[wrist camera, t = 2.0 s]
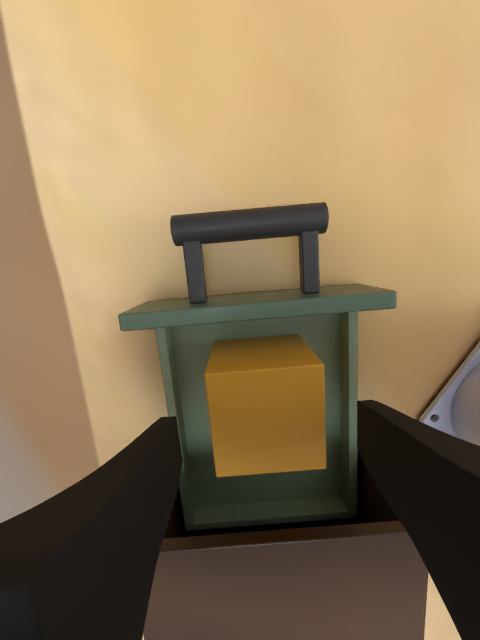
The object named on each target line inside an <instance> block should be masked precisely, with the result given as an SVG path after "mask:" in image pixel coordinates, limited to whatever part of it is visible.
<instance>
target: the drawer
mask: <svg viewBox="0 0 480 640" xmlns="http://www.w3.org/2000/svg"><path fill="white" fill-rule="evenodd" d="M328 220H329V214H328V208H327V205H326V203H324V202H322V203H311V204H299V205H288V206H277V207H265V208H254V209H242V210H231V211H220V212H208V213H197V214H186V215H174V216H171V220H170V226H171V234H172V238H173V241H174V244H175V245H176V246H183V251H184V259H185V267H186V276H187V284H188V292H189V298H183V299H171V300H159V301H148V302H145V303H143V304H141V305H139V306H136V307H134V308H132V309H130V310H128V311H125V312H123V313H121V314H119V315H118V318H119V323H120V329H121V331H132V330H144V329H155V330H156V337H157V343H158V350H159V357H160V363H161V370H162V377H163V383H164V390H165V397H166V403H167V410H168V417H172V416H176V417H177V424H178V431H179V438H180V445H181V452H182V459H183V463H182V470H181V476H180V482H179V490H180V497H181V503H182V510H183V517H184V523H185V530H186V531H189V530H193V529H194V530H201V529H214V528H227V527H240V526H253V525H266V524H279V523H292V522H305V521H318V520H331V519H344V518H357V312H358V311H370V310H382V309H394V308H396V301H397V292H396V291H394V290H388V289H383V288H378V287H373V286H368V285H362V284H347V285H336V286H324V287H320V282H319V245H318V234H323V233H325V232H326V230H327V227H328ZM289 236H298V237H299V262H300V287H301V288H300V289H289V290H277V291H265V292H253V293H242V294H230V295H218V296H207V291H206V282H205V273H204V264H203V254H202V245H201V244H208V243H220V242H231V241H243V240H254V239H266V238H277V237H289ZM294 334H299V335H300V336H301V338H302V339H303V340H304V341H305V342H306V344H307V345H308V346H309V347H310V349H311V350H312V351H313V352H314V353H315V355H316V356H317V357H318V358H319V359H320V361H321V362H322V363H323V364H324V381H325V422H326V463H327V467H326V469H317V470H304V471H292V472H279V473H266V474H254V475H241V476H228V477H217V476H216V471H215V463H214V454H213V446H212V437H211V429H210V420H209V412H208V403H207V395H206V386H205V378H204V375H205V371H206V368H207V364H208V361H209V357H210V354H211V351H212V347H213V344H214V341H222V340H234V339H246V338H258V337H270V336H282V335H294Z"/></svg>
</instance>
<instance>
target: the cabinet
mask: <svg viewBox="0 0 480 640" xmlns="http://www.w3.org/2000/svg"><path fill="white" fill-rule="evenodd" d="M427 584H428V570H427V568H426V566H425V564H424V562H423V560H422V558H421V556H420V555H419V553H418V551H417V549H416V547H415V545H414V543H413V541H412V540H411V538H410V536H409V535H408V533H407V531H406V530H405V528H404V526H403V525H402V523H401V522H400V520H399V519H398V517H397V516H396V514H395V512H394V511H393V509H392V508H391V506H390V505H389V503H388V501H387V500H386V498H385V497H384V495H383V494H382V492H381V491H380V489H379V487H378V486H377V484H376V483H375V481H374V479H373V478H372V476H371V475H370V473H369V471H368V469H367V467H366V465H365V463H364V461H363V459H362V457H361V455H360V452H359V450H358V448H357V518H344V519H331V520H318V521H305V522H292V523H279V524H266V525H253V526H240V527H227V528H214V529H201V530H194V529H193V530H189V531H186V530H185V523H184V517H183V510H182V503H181V497H180V490H179V487H178V491H177V494H176V498H175V501H174V505H173V508H172V511H171V515H170V518H169V522H168V525H167V528H166V532H165V535H164V538H163V542H162V545H161V549H160V552H159V556H158V560H157V564H156V569H155V574H154V579H153V584H152V589H151V594H150V599H149V604H148V610H147V615H146V620H145V626H144V631H143V634H144V639H145V640H424V630H425V615H426V599H427Z"/></svg>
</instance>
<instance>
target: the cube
mask: <svg viewBox="0 0 480 640" xmlns="http://www.w3.org/2000/svg"><path fill="white" fill-rule="evenodd" d="M204 378H205V386H206V395H207V403H208V412H209V420H210V429H211V437H212V446H213V454H214V463H215V471H216V476H217V477H228V476H241V475H254V474H266V473H279V472H292V471H304V470H317V469H326V467H327V463H326V422H325V381H324V364H323V363H322V362H321V361H320V359H319V358H318V357H317V356H316V355H315V353H314V352H313V351H312V350H311V349H310V347H309V346H308V345H307V344H306V342H305V341H304V340H303V339H302V338H301V336H300V335H299V334H294V335H282V336H270V337H258V338H246V339H234V340H222V341H214V344H213V347H212V351H211V354H210V357H209V361H208V364H207V368H206V371H205V375H204Z"/></svg>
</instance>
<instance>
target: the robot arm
mask: <svg viewBox="0 0 480 640" xmlns="http://www.w3.org/2000/svg"><path fill="white" fill-rule="evenodd" d="M434 414H435V415H434ZM432 415H434V417H433V418H431V416H432ZM357 448H358V450H359V452H360V455H361V457H362V459H363V461H364V463H365V465H366V467H367V469H368V471H369V473H370V475H371V476H372V478H373V479H374V481H375V483H376V484H377V486H378V487H379V489H380V491H381V492H382V494H383V495H384V497H385V498H386V500H387V501H388V503H389V505H390V506H391V508H392V509H393V511H394V512H395V514H396V516H397V517H398V519H399V520H400V522H401V523H402V525H403V526H404V528H405V530H406V531H407V533H408V535H409V536H410V538H411V540H412V541H413V543H414V545H415V547H416V549H417V551H418V553H419V555H420V556H421V558H422V560H423V562H424V564H425V566H426V568H427V570H428V572H429V574H430V576H431V578H432V580H433V582H434V584H435V586H436V588H437V590H438V592H439V594H440V596H441V598H442V600H443V602H444V604H445V606H446V608H447V610H448V612H449V614H450V616H451V618H452V620H453V622H454V624H455V626H456V628H457V630H458V632H459V635H460V637H461V639H462V640H480V341H479V343H478V344H477V345H476V347H475V348H474V349H473V350H472V352H471V353H470V354H469V356H468V357H467V358H466V359H465V361H464V362H463V363H462V365H461V366H460V367H459V368H458V370H457V371H456V372H455V373H454V375H453V376H452V377H451V379H450V380H449V381H448V382H447V384H446V385H445V386H444V388H443V389H442V390H441V391H440V393H439V394H438V395H437V397H436V398H435V399H434V400H433V402H432V403H431V404H430V406H429V407H428V408H427V409H426V411H425V412H424V413H423V415H422V416H421V417H420V419H419V421H418V420H416V419H414V418H411V417H409V416H407V415H405V414H403V413H401V412H399V411H397V410H395V409H393V408H391V407H388V406H386V405H384V404H382V403H379V402H377V401H374V400H365V401H357ZM182 463H183V459H182V452H181V445H180V438H179V431H178V424H177V417H176V416H172V417H161V418H160V419H158V420H157V421H156V422H155V423H153V424H152V425H151V426H150V427H149V428H148V429H147V430H145V431H144V432H143V433H142V434H141V435H140V436H139V437H137V438H136V439H135V440H134V441H133V442H132V443H130V444H129V445H128V446H127V447H126V448H124V449H123V450H122V451H120V452H119V453H118V454H117V455H115V456H114V457H113V458H112V459H110V460H109V461H108V462H106V463H105V464H104V465H102V466H101V467H100V468H98V469H97V470H96V471H94V472H93V473H91V474H89V475H88V476H86V477H85V478H83V479H82V480H80V481H79V482H77V483H76V484H74V485H72V486H71V487H69V488H67V489H65V490H64V491H62V492H60V493H58V494H57V495H55V496H54V497H52V498H50V499H48V500H46V501H45V502H43V503H41V504H39V505H37V506H35V507H33V508H32V509H29V510H27V511H26V512H23V513H21V514H19V515H17V516H15V517H13V518H11V519H9V520H7V521H5V522H2V523H0V640H142V636H143V631H144V626H145V620H146V615H147V610H148V604H149V599H150V594H151V589H152V584H153V579H154V574H155V569H156V564H157V560H158V556H159V552H160V549H161V545H162V542H163V538H164V535H165V532H166V528H167V525H168V522H169V518H170V515H171V511H172V508H173V505H174V501H175V498H176V494H177V491H178V487H179V482H180V476H181V470H182Z"/></svg>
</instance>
